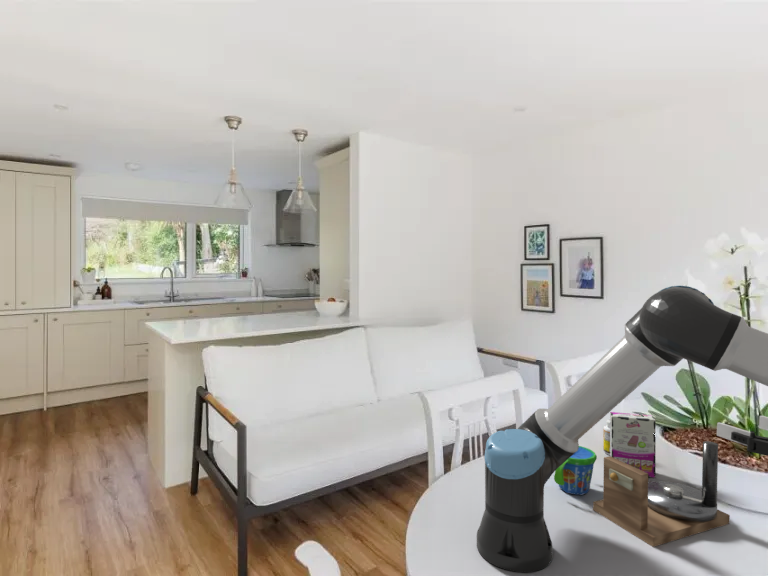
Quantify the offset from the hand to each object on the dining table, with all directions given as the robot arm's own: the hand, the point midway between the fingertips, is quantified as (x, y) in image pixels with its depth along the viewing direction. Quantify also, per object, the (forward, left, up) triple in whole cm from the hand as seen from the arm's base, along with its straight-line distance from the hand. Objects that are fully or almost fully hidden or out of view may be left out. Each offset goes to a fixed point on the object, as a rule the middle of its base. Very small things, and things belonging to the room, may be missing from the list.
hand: (739, 425), depth 98 cm
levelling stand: (-7, +13, -25) cm, 29 cm away
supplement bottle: (+14, +45, -25) cm, 53 cm away
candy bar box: (+8, +33, -25) cm, 42 cm away
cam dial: (-2, +12, -22) cm, 25 cm away
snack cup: (-15, +31, -25) cm, 43 cm away
